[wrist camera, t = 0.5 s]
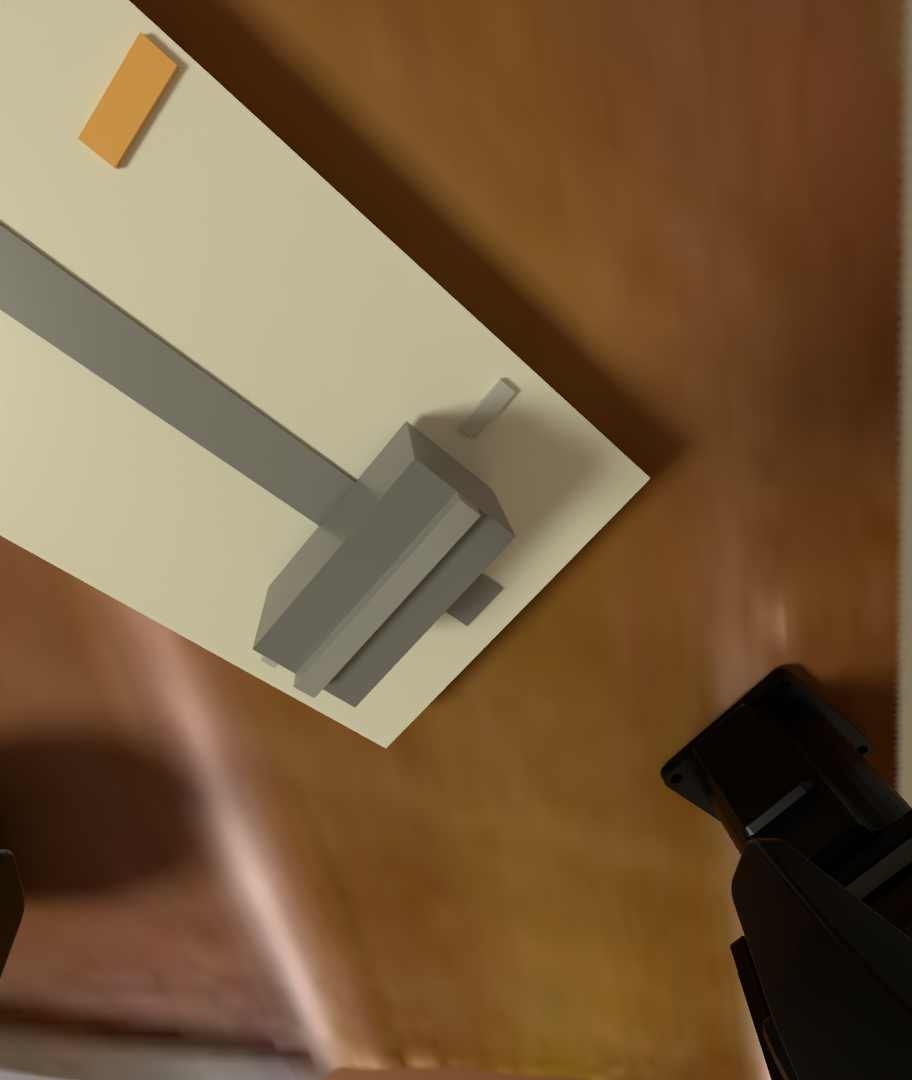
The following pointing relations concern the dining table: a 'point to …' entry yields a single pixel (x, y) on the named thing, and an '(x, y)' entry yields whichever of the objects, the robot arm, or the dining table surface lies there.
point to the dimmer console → (237, 359)
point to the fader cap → (381, 569)
